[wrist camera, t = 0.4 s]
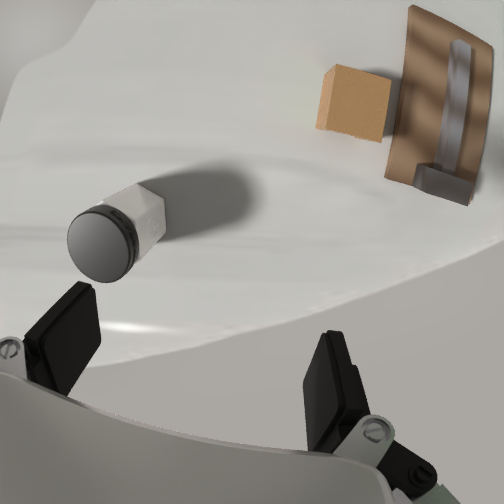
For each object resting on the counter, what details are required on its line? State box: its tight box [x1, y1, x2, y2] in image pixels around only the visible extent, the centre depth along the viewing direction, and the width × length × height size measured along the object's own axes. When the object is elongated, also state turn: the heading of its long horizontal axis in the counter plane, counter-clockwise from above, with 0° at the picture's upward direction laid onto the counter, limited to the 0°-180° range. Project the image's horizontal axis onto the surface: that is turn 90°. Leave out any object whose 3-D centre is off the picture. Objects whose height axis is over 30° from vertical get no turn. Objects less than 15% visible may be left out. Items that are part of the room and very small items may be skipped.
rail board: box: [384, 5, 492, 206], centre depth 28 cm, size 25×14×6 cm, turn 171°
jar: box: [67, 184, 166, 283], centre depth 34 cm, size 9×8×12 cm
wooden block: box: [316, 64, 392, 143], centre depth 30 cm, size 7×6×7 cm
